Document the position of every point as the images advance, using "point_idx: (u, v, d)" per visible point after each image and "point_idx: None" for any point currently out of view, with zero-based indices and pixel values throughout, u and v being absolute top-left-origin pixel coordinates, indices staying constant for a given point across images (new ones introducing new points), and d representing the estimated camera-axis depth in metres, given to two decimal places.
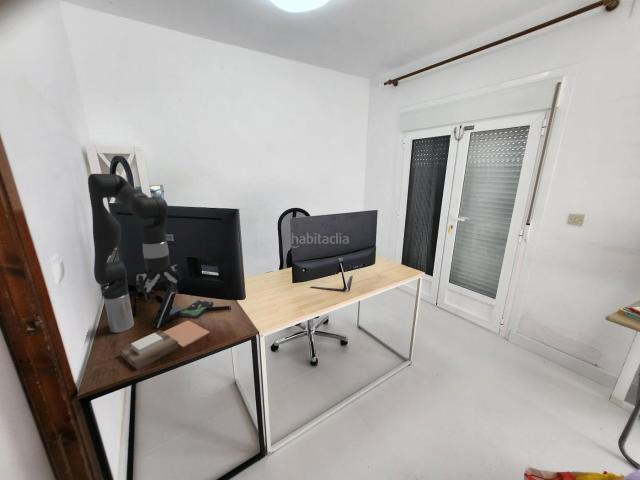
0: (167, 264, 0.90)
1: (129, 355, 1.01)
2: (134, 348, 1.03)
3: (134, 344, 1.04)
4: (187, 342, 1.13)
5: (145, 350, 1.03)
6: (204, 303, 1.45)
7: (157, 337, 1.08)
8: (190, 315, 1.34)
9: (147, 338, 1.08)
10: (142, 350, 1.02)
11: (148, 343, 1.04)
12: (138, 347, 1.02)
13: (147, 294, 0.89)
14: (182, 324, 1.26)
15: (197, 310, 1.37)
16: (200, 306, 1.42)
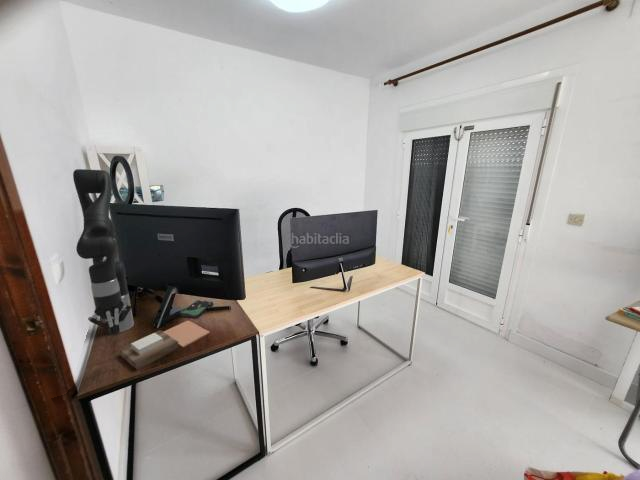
0: (117, 301, 0.92)
1: (129, 355, 1.01)
2: (134, 348, 1.03)
3: (134, 344, 1.04)
4: (187, 342, 1.13)
5: (145, 350, 1.03)
6: (204, 303, 1.45)
7: (157, 337, 1.08)
8: (190, 315, 1.34)
9: (147, 338, 1.08)
10: (142, 350, 1.02)
11: (148, 343, 1.04)
12: (138, 347, 1.02)
13: (110, 329, 0.94)
14: (182, 324, 1.26)
15: (197, 310, 1.37)
16: (200, 306, 1.42)
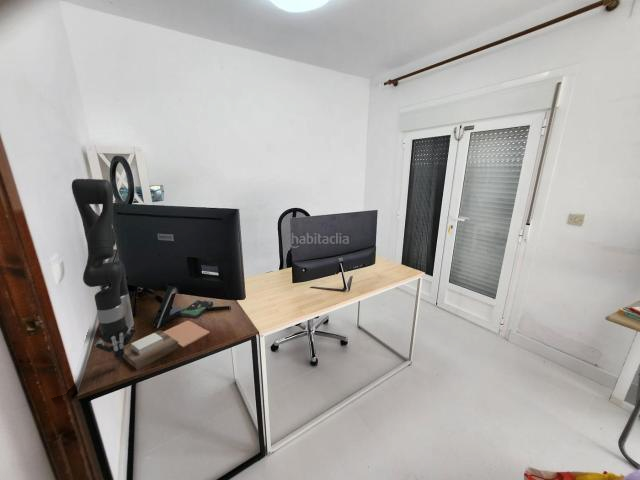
0: (122, 326, 0.95)
1: (129, 355, 1.01)
2: (134, 348, 1.03)
3: (134, 344, 1.04)
4: (187, 342, 1.13)
5: (145, 350, 1.03)
6: (204, 303, 1.45)
7: (157, 337, 1.08)
8: (190, 315, 1.34)
9: (147, 338, 1.08)
10: (142, 350, 1.02)
11: (148, 343, 1.04)
12: (138, 347, 1.02)
13: (115, 352, 0.96)
14: (182, 324, 1.26)
15: (197, 310, 1.37)
16: (200, 306, 1.42)
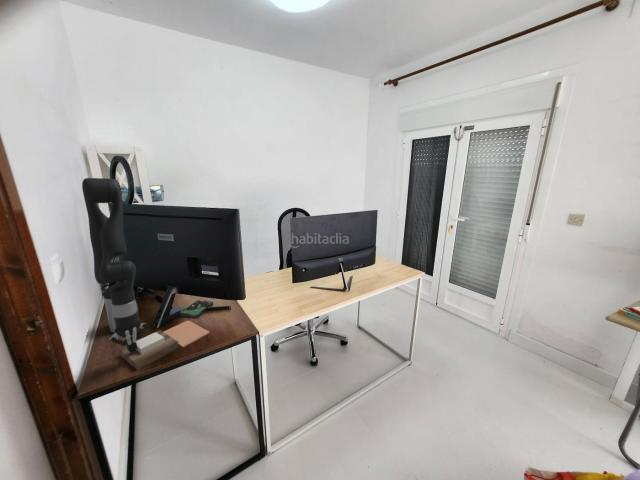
0: (135, 321, 0.98)
1: (129, 355, 1.01)
2: None
3: (136, 343, 1.04)
4: (187, 342, 1.13)
5: (147, 349, 1.03)
6: (204, 303, 1.45)
7: (159, 337, 1.08)
8: (190, 315, 1.34)
9: (149, 337, 1.08)
10: (144, 349, 1.02)
11: (150, 342, 1.05)
12: (140, 346, 1.02)
13: (129, 346, 1.00)
14: (182, 324, 1.26)
15: (197, 310, 1.37)
16: (200, 306, 1.42)
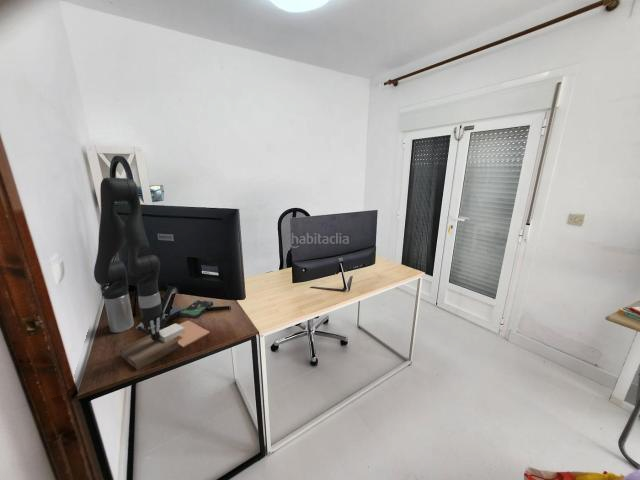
0: (159, 311, 1.05)
1: (129, 355, 1.01)
2: None
3: None
4: (187, 342, 1.13)
5: (169, 338, 1.10)
6: (204, 303, 1.45)
7: (179, 327, 1.16)
8: (190, 315, 1.34)
9: (170, 328, 1.15)
10: (167, 338, 1.09)
11: (172, 332, 1.12)
12: (163, 335, 1.10)
13: (153, 335, 1.07)
14: (182, 324, 1.26)
15: (197, 310, 1.37)
16: (200, 306, 1.42)
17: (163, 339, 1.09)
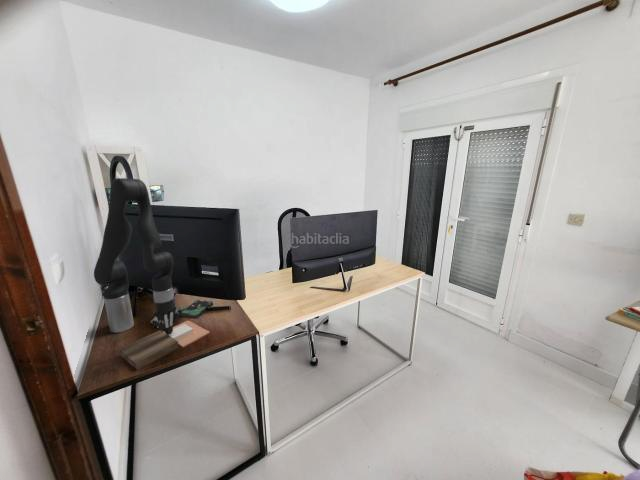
0: (173, 306, 1.10)
1: (129, 355, 1.01)
2: None
3: None
4: (187, 342, 1.13)
5: (178, 339, 1.14)
6: (204, 303, 1.45)
7: (188, 328, 1.19)
8: (190, 315, 1.34)
9: (179, 328, 1.19)
10: (176, 339, 1.13)
11: (180, 333, 1.16)
12: (172, 336, 1.13)
13: (166, 329, 1.12)
14: (182, 324, 1.26)
15: (197, 310, 1.37)
16: (200, 306, 1.42)
17: None
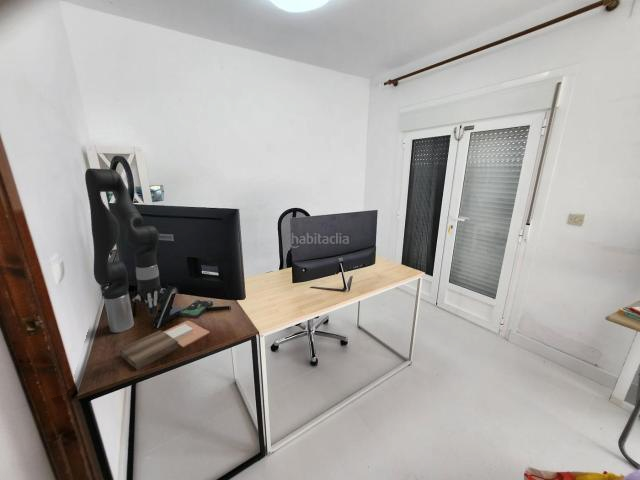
0: (157, 284, 1.03)
1: (129, 355, 1.01)
2: None
3: (168, 333, 1.15)
4: (187, 342, 1.13)
5: (178, 339, 1.14)
6: (204, 303, 1.45)
7: (188, 328, 1.19)
8: (190, 315, 1.34)
9: (179, 328, 1.19)
10: (176, 339, 1.13)
11: (180, 333, 1.16)
12: (172, 336, 1.13)
13: (150, 309, 1.05)
14: (182, 324, 1.26)
15: (197, 310, 1.38)
16: (200, 306, 1.42)
17: None
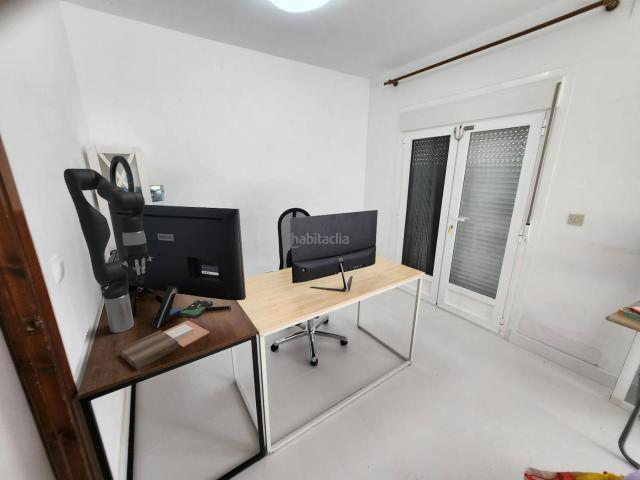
0: (144, 251, 1.03)
1: (129, 355, 1.01)
2: None
3: (168, 333, 1.15)
4: (187, 342, 1.13)
5: (178, 339, 1.14)
6: (203, 303, 1.45)
7: (188, 328, 1.19)
8: (190, 315, 1.34)
9: (179, 328, 1.19)
10: (176, 339, 1.13)
11: (180, 333, 1.16)
12: (172, 336, 1.13)
13: (138, 276, 1.05)
14: (182, 324, 1.26)
15: (197, 310, 1.38)
16: (200, 306, 1.42)
17: None
